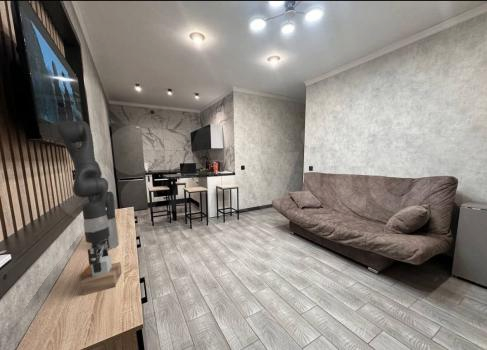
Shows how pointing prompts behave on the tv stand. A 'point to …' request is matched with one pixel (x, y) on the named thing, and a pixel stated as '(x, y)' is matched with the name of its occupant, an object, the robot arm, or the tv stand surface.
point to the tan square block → (102, 280)
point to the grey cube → (103, 266)
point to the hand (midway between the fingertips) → (101, 266)
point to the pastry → (87, 271)
